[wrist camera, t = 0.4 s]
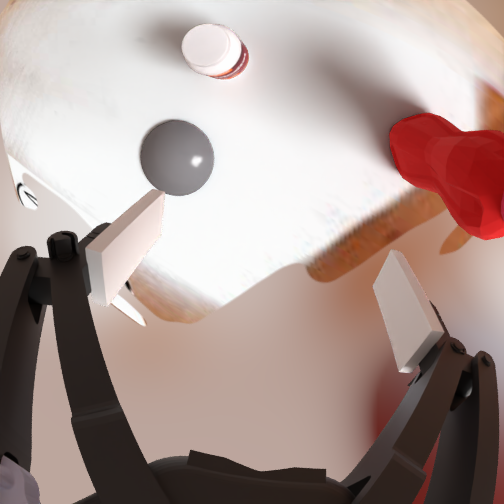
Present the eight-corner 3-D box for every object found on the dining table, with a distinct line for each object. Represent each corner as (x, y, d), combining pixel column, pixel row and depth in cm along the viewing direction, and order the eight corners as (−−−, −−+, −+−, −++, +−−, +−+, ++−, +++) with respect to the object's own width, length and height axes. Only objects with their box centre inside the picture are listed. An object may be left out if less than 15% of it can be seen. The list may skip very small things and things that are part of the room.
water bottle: (458, 164, 34) (574, 242, 13) (398, 185, 37) (495, 289, 16) (443, 105, 30) (576, 139, 9) (379, 124, 34) (493, 172, 12)
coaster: (136, 129, 38) (134, 130, 37) (207, 114, 36) (206, 114, 35) (151, 198, 43) (149, 199, 42) (219, 190, 41) (218, 191, 41)
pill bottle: (223, 89, 34) (200, 86, 24) (193, 59, 32) (161, 47, 23) (259, 59, 32) (249, 44, 22) (228, 29, 30) (207, 6, 20)
